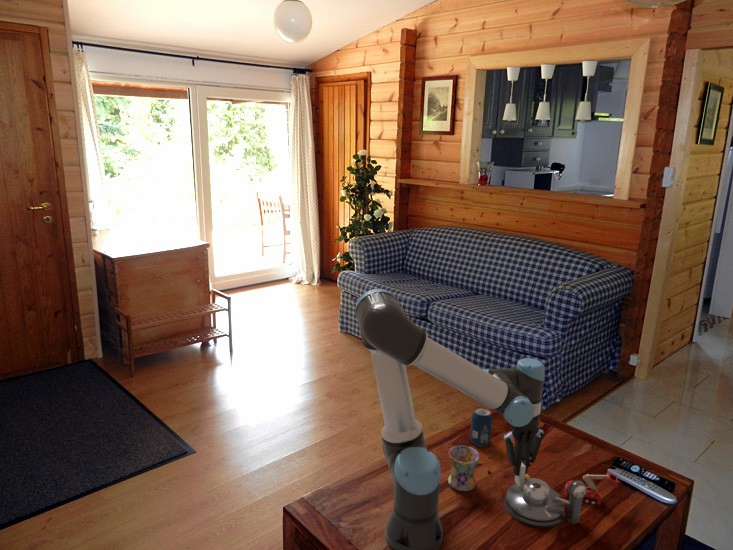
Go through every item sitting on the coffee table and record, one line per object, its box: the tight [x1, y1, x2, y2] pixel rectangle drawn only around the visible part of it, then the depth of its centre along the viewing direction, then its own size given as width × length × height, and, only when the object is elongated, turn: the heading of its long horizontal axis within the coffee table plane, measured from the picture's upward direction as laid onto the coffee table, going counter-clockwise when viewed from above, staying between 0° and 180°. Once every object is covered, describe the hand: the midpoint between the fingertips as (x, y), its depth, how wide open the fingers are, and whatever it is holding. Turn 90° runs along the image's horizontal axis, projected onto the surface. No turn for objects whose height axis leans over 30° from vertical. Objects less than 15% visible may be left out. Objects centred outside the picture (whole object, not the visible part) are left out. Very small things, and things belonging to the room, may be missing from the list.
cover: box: [523, 477, 551, 507], centre depth 159 cm, size 7×7×5 cm
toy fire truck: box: [564, 472, 619, 506], centre depth 163 cm, size 3×14×10 cm, turn 68°
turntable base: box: [503, 492, 567, 529], centre depth 160 cm, size 17×17×1 cm
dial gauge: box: [555, 479, 587, 525], centre depth 155 cm, size 6×5×13 cm
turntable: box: [506, 473, 566, 523], centre depth 160 cm, size 16×16×6 cm
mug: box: [447, 445, 481, 492], centre depth 170 cm, size 12×9×11 cm
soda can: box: [469, 406, 493, 448], centre depth 192 cm, size 7×7×12 cm
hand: (519, 483), depth 165 cm, fingers closed
